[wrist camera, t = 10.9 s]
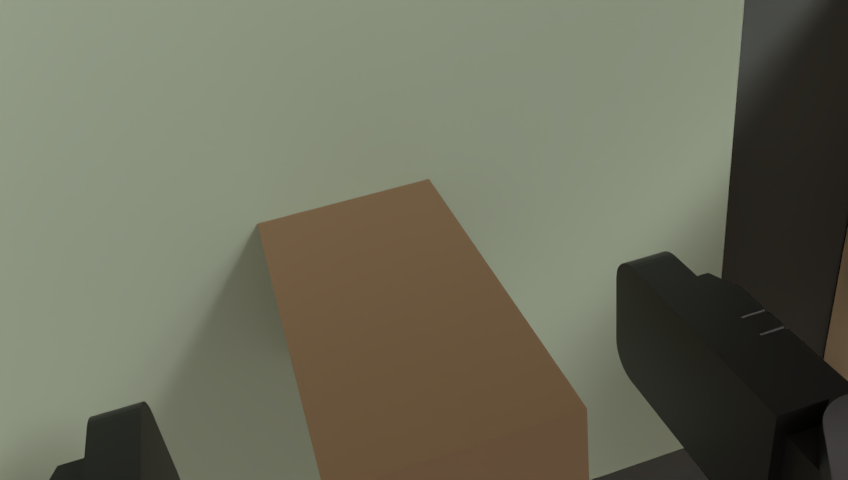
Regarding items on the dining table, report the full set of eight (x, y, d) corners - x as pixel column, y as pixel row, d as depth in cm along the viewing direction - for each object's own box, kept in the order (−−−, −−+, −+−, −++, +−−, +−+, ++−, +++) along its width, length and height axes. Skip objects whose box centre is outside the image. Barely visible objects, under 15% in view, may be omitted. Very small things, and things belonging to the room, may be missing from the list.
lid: (-359, -100, 10) (-1032, 86, 4) (734, -282, 12) (1222, -319, 7) (82, 621, 18) (55, 1016, 12) (689, 418, 20) (896, 664, 15)
